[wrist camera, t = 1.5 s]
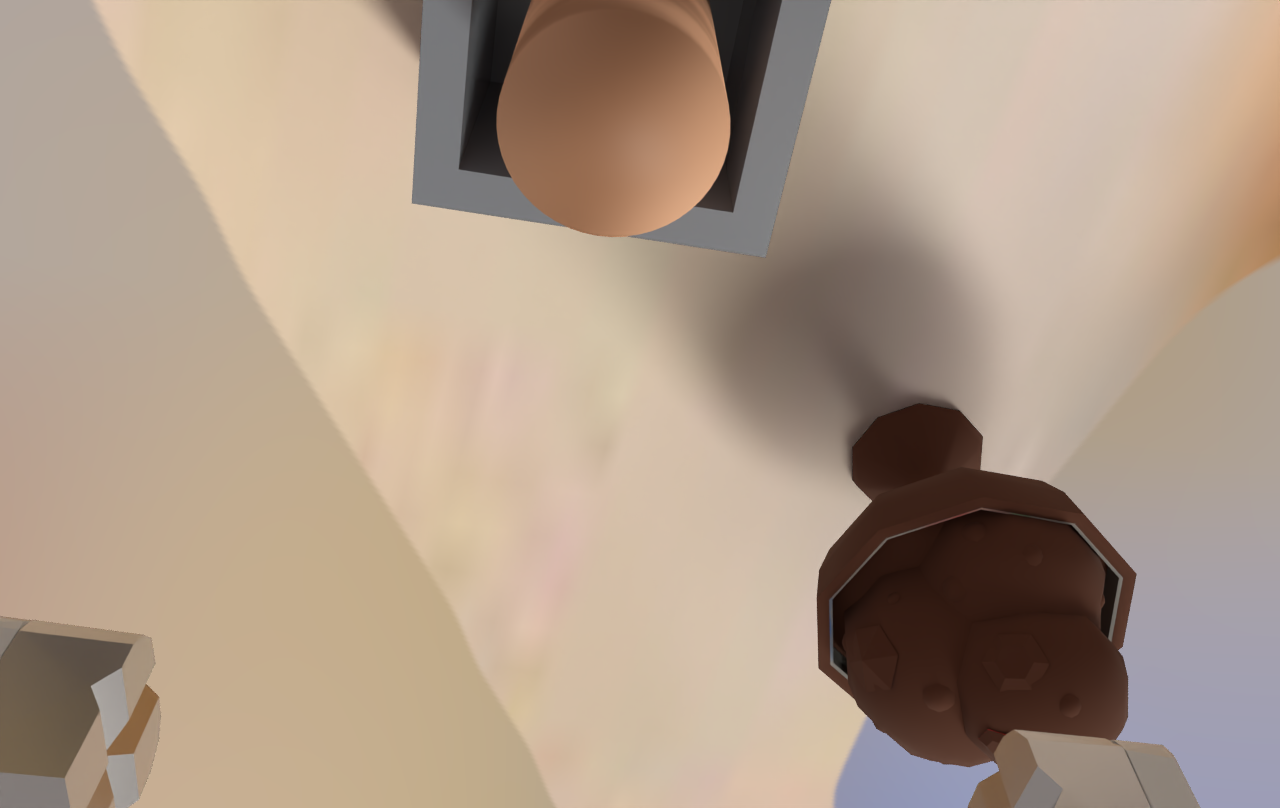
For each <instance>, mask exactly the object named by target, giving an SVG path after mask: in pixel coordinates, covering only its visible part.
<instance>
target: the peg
mask: <svg viewBox="0 0 1280 808" xmlns="http://www.w3.org/2000/svg"><path fill="white" fill-rule="evenodd" d="M497 136H498V143H499V147H500V151H501V155H502V158H503V160H504V163H505V165H506V168H507V170H508V172H509V174H510V175H511V177H512V179H513V181H514V183H515V184H516V185H517V187H518V188H519V189H520V191H521V192H522V194H523V195H524V196H525V197H526V198H527V199H528V200H529V201H530V202H531V203H532V204H533V205H534V206H535V207H536V208H538V209H539V210H540V211H541V212H542V213H544V214H545V215H547V216H548V217H550V218H551V219H553V220H554V221H556V222H558V223H560V224H562V225H564V226H566V227H568V228H571V229H574V230H577V231H580V232H583V233H588V234H592V235H597V236H608V237H624V236H632V235H639V234H643V233H647V232H650V231H654V230H656V229H659V228H661V227H664V226H666V225H668V224H670V223H672V222H673V221H675V220H677V219H679V218H680V217H682V216H683V215H684V214H686V213H687V212H688V211H690V210H691V209H692V208H693V207H694V206H695V205H696V204H697V203H698V202H699V201H700V200H701V199H702V198H703V197H704V196H705V195H706V193H707V192H708V191H709V190H710V188H711V187H712V185H713V183H714V182H715V180H716V178H717V177H718V175H719V173H720V170H721V168H722V166H723V164H724V161H725V157H726V154H727V150H728V145H729V139H730V112H729V104H728V99H727V93H726V88H725V82H724V77H723V72H722V66H721V61H720V55H719V50H718V45H717V39H716V34H715V29H714V23H713V18H712V12H711V7H710V2H709V0H531V2H530V5H529V8H528V11H527V14H526V17H525V20H524V23H523V26H522V29H521V32H520V35H519V38H518V41H517V44H516V47H515V50H514V53H513V56H512V59H511V62H510V65H509V68H508V71H507V74H506V77H505V80H504V83H503V86H502V90H501V93H500V96H499V102H498V108H497Z"/></svg>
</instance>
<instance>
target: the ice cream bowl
mask: <svg viewBox="0 0 1280 808" xmlns="http://www.w3.org/2000/svg"><path fill="white" fill-rule="evenodd" d="M982 440H983V436H982V435H981V434H980V433H979V432H978V431H977V430H976V429H975V427H974V426H973V425H972V424H971V423H970V422H969V421H968V420H967V419H966V417H965V416H964V415H963V414H962V413H961V412H960V411H958V410H953V409H947V408H941V407H936V406H930V405H925V404H916V405H913V406H910V407H907V408H904V409H901V410H898V411H896V412H893V413H890V414H887V415H884V416H881V417H878V418H877V419H876V420H875V421H874V423H873V424H872V425H871V426H870V427H869V429H868V430H867V431H866V432H865V433H864V434H863V436H862V437H861V438H860V439H859V440H858V442H857V443H856V444H855V445H854V446H853V481H854V483H855V484H856V485H857V486H858V487H859V488H860V489H861V490H862V491H863V492H864V493H865V494H866V495H867V496H868V497H869V498H870V499H871V500H872V502H871V503H870V504H869V506H868V507H867V508H866V509H865V510H864V511H863V512H862V513H861V515H860V516H859V517H858V518H857V519H856V520H855V521H854V522H853V524H852V525H851V526H850V527H849V528H848V529H847V530H846V531H845V533H844V534H843V535H842V536H841V537H840V538H839V539H838V540H837V542H836V543H835V544H834V545H833V546H832V547H831V548H830V549H829V551H828V553H827V555H826V558H825V560H824V562H823V564H822V566H821V568H820V570H819V579H818V590H817V625H818V664H819V669H820V670H821V671H822V672H824V673H825V674H826V675H827V676H828V677H829V678H831V679H832V680H833V681H834V682H835V683H836V684H838V685H839V686H840V687H841V688H842V689H843V690H845V691H846V692H847V693H848V694H849V695H850V696H852V697H853V698H854V699H855V701H856V703H857V705H858V707H859V708H860V709H861V710H862V711H863V712H864V713H865V714H866V715H867V716H868V717H869V718H870V719H871V720H872V721H873V723H874V725H875V727H876V729H878V730H880V731H882V732H883V733H887V735H889V736H890V737H891V738H892V739H893V740H894V741H896V742H897V743H898V744H899V745H900V746H902V747H903V748H904V749H905V750H906V751H907V752H909V753H910V754H911V755H914V756H917V757H921V758H924V759H927V760H931V761H936V762H940V763H942V764H953V765H959V766H966V767H971V766H975V765H979V764H982V763H986V762H990V761H994V762H995V763H996V764H997V762H996V759H995V756H994V752H995V751H996V749H997V747H998V745H999V743H1000V742H1001V740H1002V738H1003V737H1004V736H1005V735H1006V734H1008V733H1009V732H1011V731H1012V730H1025V731H1035V732H1045V733H1055V734H1065V735H1076V736H1086V737H1096V738H1105V739H1108V740H1116V739H1117V737H1118V736H1119V734H1120V733H1121V731H1122V730H1123V728H1124V725H1125V723H1126V720H1127V718H1128V676H1127V672H1126V667H1125V663H1124V659H1123V656H1122V655H1121V654H1120V652H1119V651H1118V650H1119V649H1120V648H1122V647H1123V642H1124V637H1125V632H1126V626H1127V621H1128V616H1129V611H1130V604H1131V600H1132V595H1133V590H1134V584H1135V579H1136V573H1135V572H1134V571H1133V569H1132V568H1131V567H1130V566H1129V565H1128V564H1127V563H1126V561H1125V560H1124V559H1123V558H1122V557H1121V556H1120V555H1119V554H1118V553H1117V551H1116V550H1115V549H1114V548H1113V547H1112V546H1111V544H1110V543H1109V542H1108V541H1107V540H1106V539H1105V538H1104V537H1103V535H1102V534H1101V533H1100V532H1099V531H1098V530H1097V528H1096V527H1095V526H1094V525H1093V524H1092V523H1091V522H1090V521H1089V519H1088V518H1087V517H1086V516H1085V515H1084V514H1083V513H1082V512H1081V510H1080V509H1079V508H1078V507H1077V506H1076V505H1075V504H1074V503H1073V502H1072V500H1071V499H1070V498H1069V497H1068V496H1067V495H1066V494H1065V493H1064V492H1063V491H1061V490H1059V489H1057V488H1055V487H1053V486H1051V485H1049V484H1047V483H1045V482H1043V481H1039V480H1034V479H1028V478H1022V477H1016V476H1011V475H1005V474H999V473H994V472H988V471H982V470H980V466H981V453H982Z"/></svg>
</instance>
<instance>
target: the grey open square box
mask: <svg viewBox="0 0 1280 808" xmlns="http://www.w3.org/2000/svg"><path fill="white" fill-rule="evenodd" d="M530 2H531V0H423V9H422V28H421V46H420V64H419V82H418V100H417V119H416V137H415V155H414V173H413V191H412V203H413V204H420V205H426V206H433V207H439V208H446V209H452V210H459V211H465V212H472V213H478V214H485V215H491V216H498V217H504V218H511V219H517V220H524V221H530V222H537V223H543V224H550V225H556V226H563V227H566V226H564V225H562V224H560V223H558V222H556V221H554V220H553V219H551V218H550V217H548V216H547V215H545V214H544V213H542V212H541V211H540V210H539V209H538V208H536V207H535V206H534V205H533V204H532V203H531V202H530V201H529V200H528V199H527V198H526V197H525V196H524V195H523V194H522V192H521V191H520V189H519V188H518V187H517V185H516V184H515V183H514V181H513V179H512V177H511V175H510V174H509V172H508V170H507V168H506V165H505V163H504V160H503V158H502V155H501V151H500V147H499V143H498V136H497V108H498V102H499V96H500V93H501V90H502V86H503V83H504V80H505V77H506V74H507V71H508V68H509V65H510V62H511V59H512V56H513V53H514V50H515V47H516V44H517V41H518V38H519V35H520V32H521V29H522V26H523V23H524V20H525V17H526V14H527V11H528V8H529V5H530ZM709 2H710V7H711V12H712V18H713V23H714V29H715V34H716V39H717V45H718V50H719V55H720V61H721V66H722V72H723V77H724V82H725V88H726V93H727V99H728V104H729V112H730V139H729V145H728V150H727V154H726V157H725V161H724V164H723V166H722V168H721V170H720V173H719V175H718V177H717V178H716V180H715V182H714V183H713V185H712V187H711V188H710V190H709V191H708V192H707V193H706V195H705V196H704V197H703V198H702V199H701V200H700V201H699V202H698V203H697V204H696V205H695V206H694V207H693V208H692V209H691V210H690V211H688V212H687V213H686V214H684V215H683V216H682V217H680V218H679V219H677V220H675V221H673V222H672V223H670V224H668V225H666V226H664V227H661V228H659V229H656V230H654V231H650V232H647V233H643V234H639V235H632V236H628V237H634V238H641V239H647V240H654V241H660V242H667V243H673V244H680V245H686V246H693V247H699V248H706V249H712V250H719V251H725V252H732V253H738V254H745V255H751V256H758V257H764V258H766V254H767V250H768V246H769V242H770V239H771V235H772V231H773V227H774V223H775V219H776V215H777V211H778V207H779V203H780V199H781V195H782V191H783V187H784V184H785V180H786V176H787V172H788V168H789V164H790V160H791V156H792V152H793V148H794V144H795V140H796V136H797V133H798V129H799V125H800V121H801V117H802V113H803V109H804V105H805V101H806V97H807V93H808V89H809V85H810V82H811V78H812V74H813V70H814V66H815V62H816V58H817V54H818V50H819V46H820V42H821V38H822V34H823V30H824V27H825V23H826V19H827V15H828V11H829V7H830V3H831V0H709Z"/></svg>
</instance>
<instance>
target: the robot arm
mask: <svg viewBox="0 0 1280 808" xmlns="http://www.w3.org/2000/svg"><path fill="white" fill-rule="evenodd" d="M154 665H155V656H154V650H153V644H152V638H151V637H148V636H145V635H141V634H134V633H126V632H119V631H112V630H104V629H97V628H90V627H82V626H75V625H68V624H60V623H53V622H45V621H38V620H26V619H18V618H10V617H2V616H0V808H128V807H129V806H131V805H132V804H134V803H135V802H136V801H138V800H139V799H140V796H141V794H142V791H143V789H144V786H145V784H146V782H147V779H148V777H149V774H150V772H151V769H152V765H153V761H154V757H155V752H156V749H157V745H158V741H159V732H160V719H161V712H160V700H159V696H158V695H157V694H156V693H155V692H154V691H153V690H152V689H151V688H150V687H149V686H148V685H147V684H146V683H147V680H148V678H149V676H150V674H151V672H152V669H153V668H154ZM994 756H995V759H996V762H997V765H998V768H999V771H998V772H997V773H995V774H993V775H991V776H990V777H988V778H986V779H985V780H983V781H981V782H980V783H978V785H977V787H976V790H975V792H974V794H973V796H972V798H971V800H970V802H969V805H968V808H1200V806H1199V804H1198V802H1197V800H1196V798H1195V796H1194V794H1193V792H1192V790H1191V788H1190V786H1189V784H1188V782H1187V780H1186V778H1185V776H1184V774H1183V772H1182V770H1181V769H1180V766H1179V764H1178V762H1177V760H1176V759H1175V757H1174V755H1173V754H1172V753H1171V752H1169V750H1167V749H1166V748H1165V747H1164V746H1163V745H1157V744H1148V743H1139V742H1129V741H1119V740H1108V739H1105V738H1096V737H1086V736H1076V735H1065V734H1055V733H1045V732H1035V731H1025V730H1012V731H1011V732H1009V733H1008V734H1006V735H1005V736H1004V737H1003V738H1002V740H1001V742H1000V743H999V745H998V747H997V749H996V751H995V752H994Z"/></svg>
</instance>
